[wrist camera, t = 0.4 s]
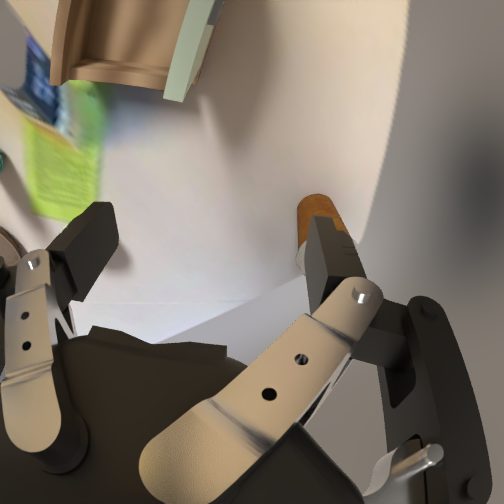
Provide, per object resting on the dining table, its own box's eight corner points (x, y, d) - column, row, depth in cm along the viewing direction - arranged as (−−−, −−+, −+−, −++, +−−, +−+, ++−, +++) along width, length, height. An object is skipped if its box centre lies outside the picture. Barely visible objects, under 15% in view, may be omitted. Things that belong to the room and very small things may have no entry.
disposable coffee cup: (276, 208, 50) (283, 265, 42) (321, 176, 45) (339, 231, 37) (309, 234, 55) (320, 289, 47) (351, 208, 50) (371, 262, 42)
